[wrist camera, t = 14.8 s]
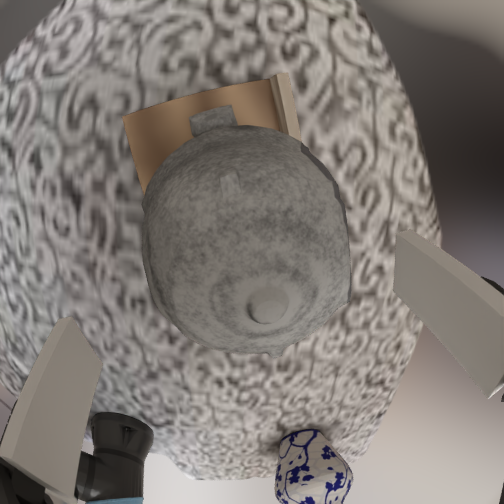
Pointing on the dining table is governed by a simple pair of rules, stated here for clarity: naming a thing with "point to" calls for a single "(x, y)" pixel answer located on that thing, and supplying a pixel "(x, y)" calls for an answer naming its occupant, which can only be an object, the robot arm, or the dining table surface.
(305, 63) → the dining table surface
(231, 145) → the figurine
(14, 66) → the dining table surface
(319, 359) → the dining table surface
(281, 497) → the vase
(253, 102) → the shelf board
